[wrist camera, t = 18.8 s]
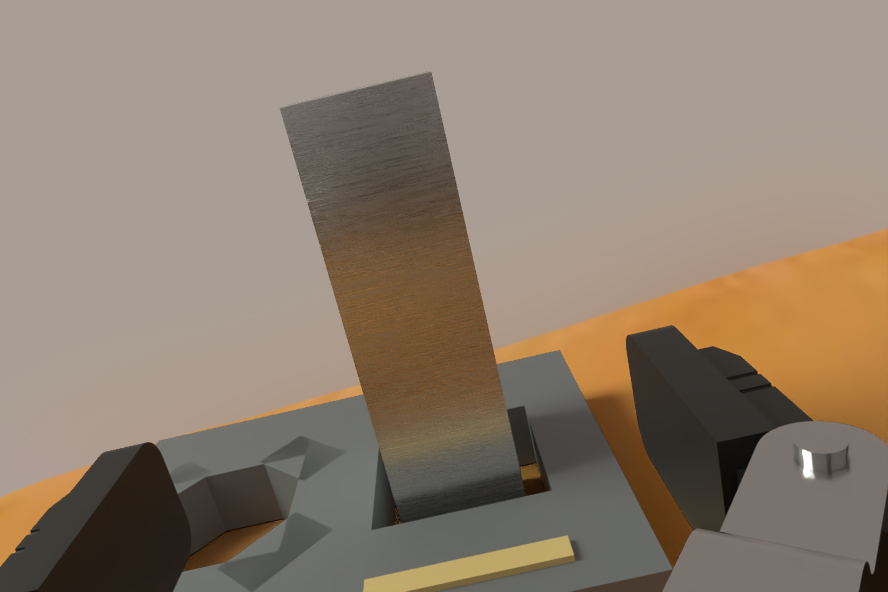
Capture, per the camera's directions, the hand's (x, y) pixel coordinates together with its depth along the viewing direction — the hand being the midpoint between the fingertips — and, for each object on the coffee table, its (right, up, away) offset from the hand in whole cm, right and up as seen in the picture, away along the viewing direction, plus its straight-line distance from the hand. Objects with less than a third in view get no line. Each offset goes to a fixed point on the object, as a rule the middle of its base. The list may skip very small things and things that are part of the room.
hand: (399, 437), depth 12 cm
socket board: (-2, -6, +13) cm, 15 cm away
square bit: (+2, -6, +13) cm, 14 cm away
